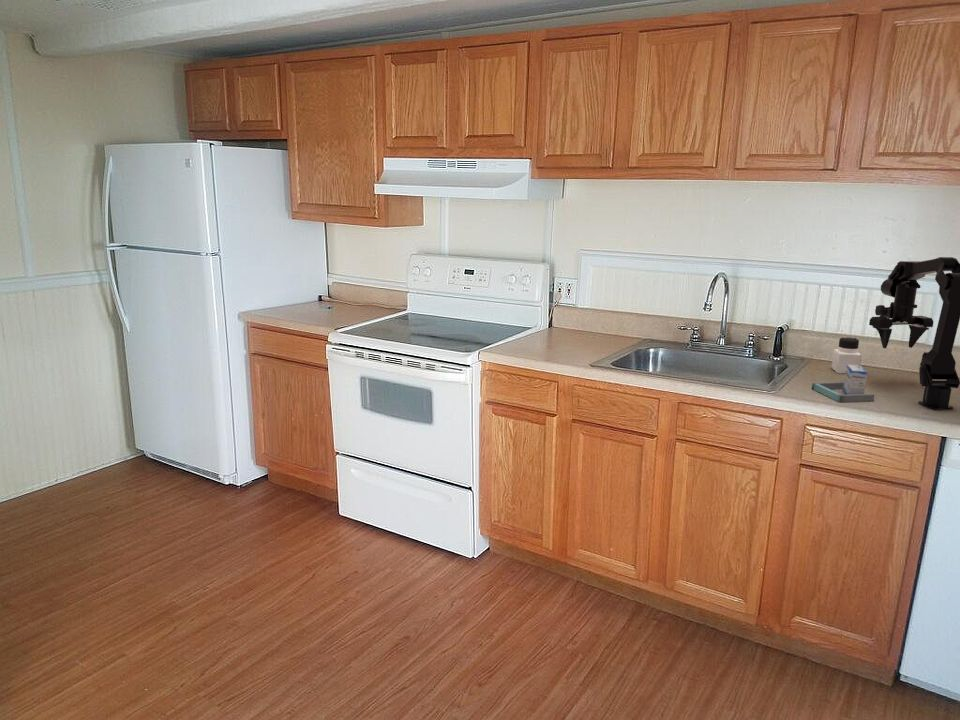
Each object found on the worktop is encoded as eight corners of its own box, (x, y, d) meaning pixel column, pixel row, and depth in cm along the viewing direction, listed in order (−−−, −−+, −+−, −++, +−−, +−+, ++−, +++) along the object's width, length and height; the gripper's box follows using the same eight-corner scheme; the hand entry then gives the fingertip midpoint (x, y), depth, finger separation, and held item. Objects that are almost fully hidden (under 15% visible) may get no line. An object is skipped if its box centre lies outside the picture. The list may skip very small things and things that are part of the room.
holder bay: (873, 401, 215) (874, 394, 215) (839, 402, 214) (840, 396, 213) (844, 387, 229) (844, 381, 229) (811, 388, 228) (812, 382, 227)
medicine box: (842, 390, 226) (845, 364, 224) (857, 391, 225) (861, 365, 223) (848, 397, 219) (851, 370, 217) (864, 398, 218) (867, 371, 216)
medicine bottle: (859, 374, 245) (863, 340, 242) (836, 373, 246) (841, 339, 243) (852, 369, 252) (857, 336, 249) (831, 368, 253) (835, 335, 250)
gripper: (913, 295, 236) (906, 341, 240) (861, 296, 234) (855, 343, 238) (938, 301, 226) (930, 349, 230) (884, 302, 223) (877, 350, 227)
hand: (897, 347), depth 231 cm, fingers open, 9 cm apart
